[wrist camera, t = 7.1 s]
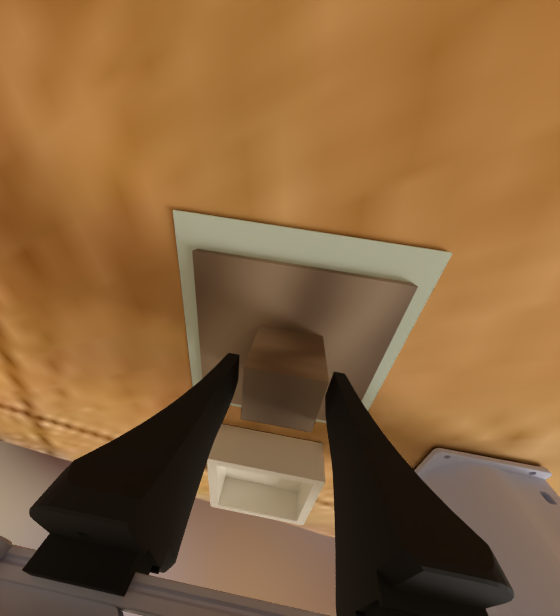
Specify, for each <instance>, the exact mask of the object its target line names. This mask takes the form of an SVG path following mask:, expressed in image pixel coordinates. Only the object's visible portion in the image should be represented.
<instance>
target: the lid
mask: <svg viewBox="0 0 560 616" xmlns="http://www.w3.org/2000/svg"><path fill="white" fill-rule="evenodd" d="M192 255H193V268H194V281H195V293H196V306H197V318H198V331H199V344H200V356H201V369H202V378H204V377H205V376H206V375H207V374H208V373H209V372H210V371H211V370H212V369H213V368H214V367H215V366H216V365H217V364H218V363H219V362H220V361H221V360H222V359H223V358H224V357H225V356H226V355H227V354H228V353H233V354H239V355H240V356H239V378H238V383H237V387H236V390H235V393H234V396H233V399H232V401H231V403H233V404H239V405H242V406H241V419H243V420H249V421H254V422H259V423H264V424H270V425H275V426H280V427H285V428H291V429H296V430H301V431H307V432H312V429H313V427H314V424H315V421H316V419H319V420H324V421H326V416H325V395H326V392H327V389H328V386H329V383H330V381H331V378H332V375H333V372H339V373H345V375H346V376H347V378H348V380H349V381H350V383H351V385H352V386H353V388H354V390H355V392H356V393H357V395H358V397H359V398H360V400H361V401H362V399H363V397H364V395H365V393H366V391H367V389H368V387H369V385H370V383H371V381H372V379H373V377H374V375H375V373H376V371H377V369H378V367H379V365H380V363H381V361H382V359H383V357H384V355H385V353H386V351H387V349H388V347H389V345H390V343H391V341H392V339H393V337H394V335H395V333H396V330H397V328H398V326H399V324H400V322H401V320H402V318H403V316H404V314H405V312H406V310H407V308H408V306H409V304H410V302H411V300H412V298H413V296H414V294H415V292H416V290H417V288H418V286H416V285H415V284H414V283H411V282H405V281H399V280H392V279H386V278H380V277H373V276H367V275H361V274H354V273H348V272H342V271H336V270H329V269H323V268H317V267H310V266H304V265H298V264H291V263H285V262H279V261H273V260H266V259H260V258H254V257H247V256H241V255H235V254H228V253H222V252H216V251H210V250H203V249H195V250H193V251H192Z"/></svg>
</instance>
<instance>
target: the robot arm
mask: <svg viewBox="0 0 560 616" xmlns="http://www.w3.org/2000/svg"><path fill="white" fill-rule="evenodd" d="M239 356H240V355H239V354H233V353H228V354H227V355H226V356H225V357H224V358H223V359H222V360H221V361H220V362H219V363H218V364H217V365H216V366H215V367H214V368H213V369H212V370H211V371H210V372H209V373H208V374H207V375H206V376H205V377H204V378H202V379H201V380H200V381H199V382H198V383H197V384H196V385H194V386H193V387H192V388H191V389H190V390H188V391H187V392H186V393H185V394H184V395H182V396H181V397H180V398H178V399H177V400H176V401H174V402H173V403H172V404H170V405H169V406H168V407H166V408H165V409H163V410H162V411H160V412H159V413H157V414H156V415H154V416H153V417H151V418H150V419H148V420H147V421H145V422H143V423H142V424H140V425H138V426H137V427H135V428H133V429H132V430H130V431H128V432H127V433H125V434H123V435H122V436H120V437H118V438H116V439H114V440H113V441H111V442H109V443H107V444H105V445H103V446H101V447H99V448H97V449H96V450H94V451H92V452H90V453H88V454H86V455H84V456H82V457H80V458H78V459H76V460H74V461H73V462H72V463H71V464H70V466H69V467H67V468H66V469H65V470H64V471H63V472H62V473H61V474H60V476H59V477H58V478H57V479H56V480H55V481H54V482H53V483H52V485H51V486H50V487H49V488H48V489H47V490H46V491H45V492H44V493H43V495H42V496H41V497H40V498H39V499H38V500H37V501H36V502H35V503H34V505H33V506H32V507H31V508H30V511H29V514H30V517H32V519H33V520H34V521H36V522H37V523H38V524H39V525H41V526H42V527H43V528H44V529H45V530H47V531H48V532H49V533H50V534H49V535H48V537H47V538H46V539H45V540H44V542H43V543H42V545H41V546H40V547H39V548H38V550H34V549H30V548H25V547H21V546H17V545H12V542H11V541H9V540H8V539H6V538H4V537H2V536H0V616H124V615H123V612H122V611H125V612H130V613H134V614H138V615H143V616H329V615H324V614H320V613H315V612H310V611H306V610H302V609H297V608H293V607H288V606H284V605H279V604H275V603H271V602H266V601H262V600H257V599H252V598H248V597H244V596H239V595H235V594H230V593H226V592H222V591H217V590H213V589H208V588H203V587H199V586H195V585H190V584H186V583H181V582H177V581H172V580H168V579H164V578H159V577H155V576H150V575H149V573H150V572H152V573H156V574H158V573H159V572H163V573H164V572H166V571H167V570H168V569H169V568H171V567H172V566H173V564H174V563H175V562H176V559H177V555H178V552H179V549H180V545H181V541H182V539H183V535H184V532H185V529H186V525H187V522H188V519H189V516H190V512H191V509H192V506H193V503H194V500H195V497H196V493H197V490H198V487H199V484H200V481H201V478H202V475H203V472H204V469H205V466H206V463H207V460H208V457H209V454H210V451H211V448H212V446H213V443H214V441H215V438H216V436H217V433H218V431H219V429H220V427H221V424H222V422H223V420H224V417H225V415H226V413H227V410H228V408H229V406H230V403H231V401H232V399H233V396H234V393H235V390H236V387H237V383H238V378H239ZM325 416H326V423H327V431H328V438H329V445H330V453H331V460H332V470H333V487H334V511H335V543H336V544H335V547H336V613H337V616H560V497H559V496H558V494H557V493H556V492H555V491H554V490H553V489H552V488H551V486H550V485H549V484H548V483H547V482H546V481H545V480H546V479H548V478H549V477H551V476H552V474H551V473H550V471H549V470H548V469H546V468H543V467H538V466H533V465H528V464H522V463H517V462H512V461H506V460H501V459H496V458H491V457H485V456H480V455H475V454H469V453H464V452H459V451H454V450H448V449H443V448H436V449H434V450H433V451H432V452H431V453H430V454H429V455H428V456H427V457H426V458H425V459H424V460H423V461H422V463H421V464H420V465H419V466H418V467H417V468H416V469H415V470H413V469H412V468H411V467H410V466H409V464H408V463H407V462H406V461H405V460H404V459H403V458H402V456H401V455H400V454H399V453H398V452H397V450H396V449H395V448H394V447H393V445H392V444H391V443H390V442H389V440H388V439H387V438H386V436H385V435H384V434H383V432H382V431H381V430H380V428H379V427H378V425H377V424H376V423H375V421H374V420H373V418H372V417H371V415H370V414H369V412H368V411H367V409H366V408H365V406H364V405H363V403H362V401H361V400H360V398H359V397H358V395H357V393H356V392H355V390H354V388H353V386H352V385H351V383H350V381H349V380H348V378H347V376H346V375H345V373H339V372H333V375H332V378H331V381H330V383H329V386H328V389H327V392H326V395H325Z"/></svg>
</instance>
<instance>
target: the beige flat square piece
mask: <svg viewBox="0 0 560 616" xmlns="http://www.w3.org/2000/svg"><path fill="white" fill-rule="evenodd" d="M173 217H174V226H175V235H176V244H177V252H178V261H179V270H180V279H181V288H182V297H183V306H184V314H185V323H186V332H187V341H188V350H189V359H190V368H191V377H192V385H193V386H194V385H196V384H197V383H198V382H199V381H200V380H201V379H202V369H201V356H200V344H199V331H198V318H197V306H196V293H195V281H194V268H193V255H192V251H193V250H195V249H203V250H210V251H216V252H222V253H228V254H235V255H241V256H247V257H254V258H260V259H266V260H273V261H279V262H285V263H291V264H298V265H304V266H310V267H317V268H323V269H329V270H336V271H342V272H348V273H354V274H361V275H367V276H373V277H380V278H386V279H392V280H399V281H405V282H411V283H414V284H415V285H416V286H418V288H417V290H416V292H415V294H414V296H413V298H412V300H411V302H410V304H409V306H408V308H407V310H406V312H405V314H404V316H403V318H402V320H401V322H400V324H399V326H398V328H397V330H396V333H395V335H394V337H393V339H392V341H391V343H390V345H389V347H388V349H387V351H386V353H385V355H384V357H383V359H382V361H381V363H380V365H379V367H378V369H377V371H376V373H375V375H374V377H373V379H372V381H371V383H370V385H369V387H368V389H367V391H366V393H365V395H364V397H363V399H362V403H363V405H364V406H365V408H366V409H367V411H368V410H369V408H370V406H371V404H372V402H373V400H374V399H375V397H376V395H377V393H378V391H379V389H380V387H381V386H382V384H383V382H384V380H385V378H386V376H387V374H388V373H389V371H390V369H391V367H392V365H393V363H394V361H395V360H396V358H397V356H398V354H399V352H400V350H401V348H402V346H403V345H404V343H405V341H406V339H407V337H408V335H409V333H410V332H411V330H412V328H413V326H414V324H415V322H416V320H417V319H418V317H419V315H420V313H421V311H422V309H423V307H424V306H425V304H426V302H427V300H428V298H429V296H430V294H431V292H432V291H433V289H434V287H435V285H436V283H437V281H438V279H439V278H440V276H441V274H442V272H443V270H444V268H445V266H446V265H447V263H448V261H449V259H450V257H451V255H452V253H451V252H448V251H441V250H435V249H428V248H422V247H415V246H409V245H402V244H396V243H389V242H383V241H376V240H370V239H363V238H357V237H350V236H343V235H337V234H330V233H324V232H317V231H311V230H304V229H298V228H291V227H285V226H278V225H272V224H265V223H259V222H252V221H246V220H239V219H233V218H226V217H220V216H213V215H207V214H200V213H193V212H187V211H180V210H173ZM230 405H231V406H236V407H241V406H242V405H239V404H233V403H230ZM316 422H321V423H326V421H324V420H319V419H316Z"/></svg>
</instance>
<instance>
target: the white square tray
mask: <svg viewBox="0 0 560 616" xmlns="http://www.w3.org/2000/svg"><path fill="white" fill-rule="evenodd" d="M207 467H208V479H209V491H210V502H211V507H216V508H222V509H226V510H231V511H235V512H240V513H245V514H250V515H254V516H259V517H264V518H269V519H274V520H278V521H283V522H288V523H293V524H298V525H302V526H303V525H304V523H305V521H306V519H307V517H308V515H309V513H310V511H311V509H312V507H313V505H314V503H315V501H316V499H317V497H318V495H319V494H320V492H321V490H322V488H323V486H324V484H325V470H324V456H323V443H318V442H313V441H307V440H302V439H297V438H292V437H287V436H281V435H276V434H271V433H266V432H261V431H256V430H250V429H245V428H240V427H235V426H230V425H224V424H221V427H220V429H219V431H218V433H217V436H216V438H215V441H214V443H213V446H212V448H211V451H210V454H209V457H208V460H207Z"/></svg>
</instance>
